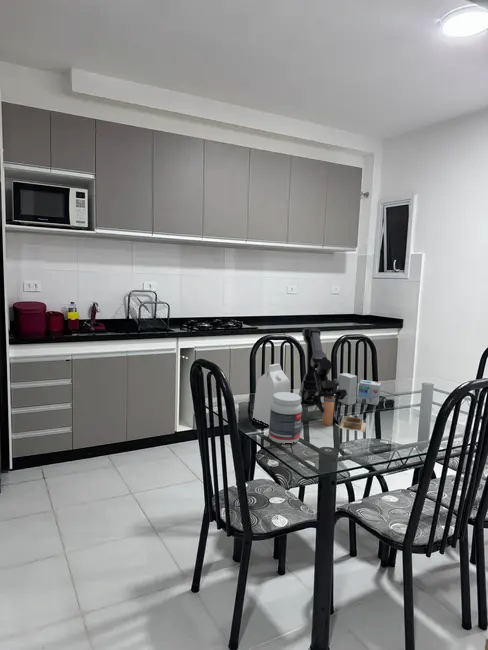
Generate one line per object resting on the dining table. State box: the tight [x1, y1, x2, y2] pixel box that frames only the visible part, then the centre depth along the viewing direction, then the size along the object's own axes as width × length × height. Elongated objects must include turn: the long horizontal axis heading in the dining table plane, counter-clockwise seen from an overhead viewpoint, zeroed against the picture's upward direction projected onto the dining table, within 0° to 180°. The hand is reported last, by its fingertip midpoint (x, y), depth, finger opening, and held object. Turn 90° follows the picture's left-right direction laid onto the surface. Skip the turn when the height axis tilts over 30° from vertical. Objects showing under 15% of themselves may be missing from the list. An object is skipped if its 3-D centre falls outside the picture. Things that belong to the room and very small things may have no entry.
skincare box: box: [337, 372, 358, 406], centre depth 238 cm, size 8×6×15 cm
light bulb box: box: [356, 379, 382, 406], centre depth 241 cm, size 11×7×11 cm, turn 68°
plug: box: [321, 396, 335, 427], centre depth 202 cm, size 5×5×14 cm
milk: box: [252, 363, 291, 425], centre depth 206 cm, size 12×12×26 cm
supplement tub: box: [268, 391, 303, 445], centre depth 186 cm, size 13×13×18 cm
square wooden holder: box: [338, 415, 367, 433], centre depth 203 cm, size 11×11×4 cm
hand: (329, 412), depth 201 cm, fingers open, 6 cm apart
